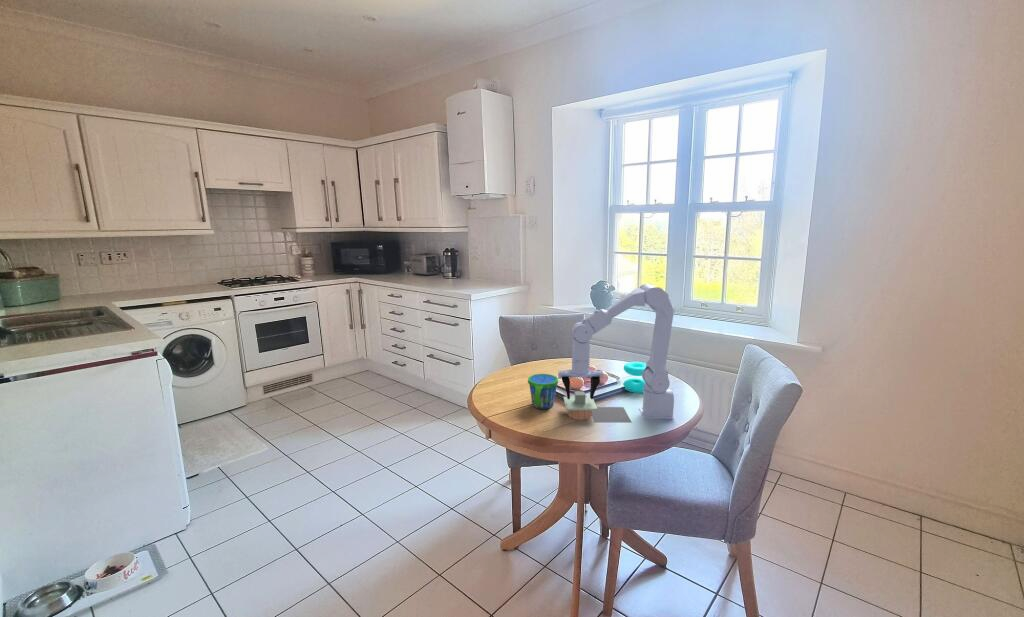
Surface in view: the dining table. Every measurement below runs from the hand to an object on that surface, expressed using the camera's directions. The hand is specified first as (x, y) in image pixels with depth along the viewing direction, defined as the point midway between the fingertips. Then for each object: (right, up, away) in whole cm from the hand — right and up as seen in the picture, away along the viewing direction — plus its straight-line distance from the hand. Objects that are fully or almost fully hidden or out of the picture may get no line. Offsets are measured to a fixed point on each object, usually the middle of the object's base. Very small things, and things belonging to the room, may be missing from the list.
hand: (579, 398), depth 145 cm
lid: (0, -2, +1) cm, 2 cm away
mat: (+10, -6, +1) cm, 12 cm away
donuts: (+26, -2, +24) cm, 35 cm away
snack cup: (-12, -5, +9) cm, 16 cm away
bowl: (0, -6, +1) cm, 6 cm away
